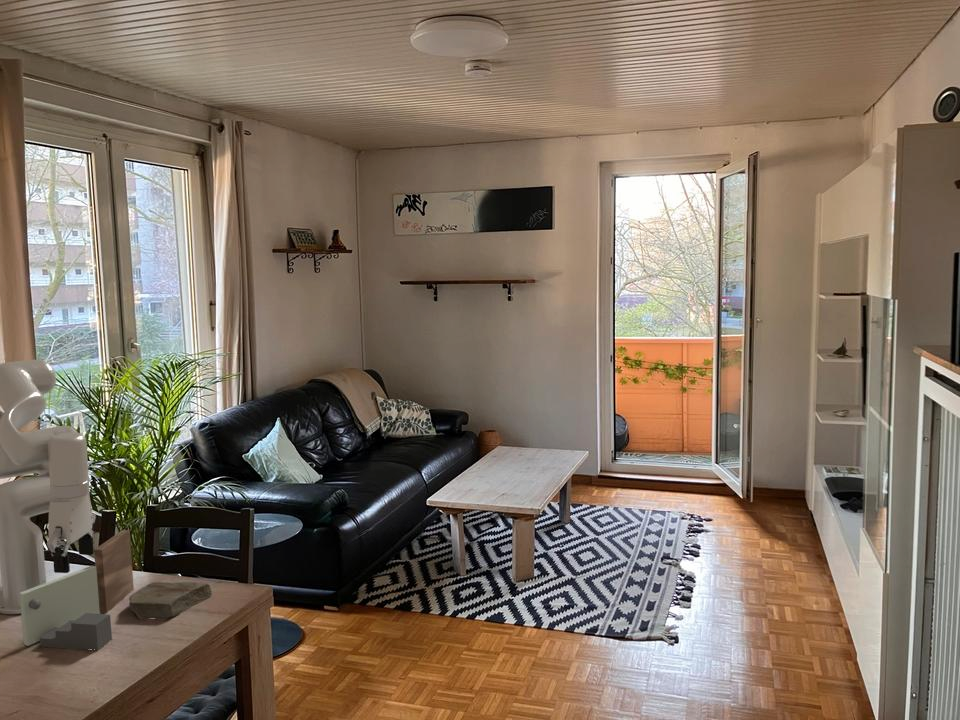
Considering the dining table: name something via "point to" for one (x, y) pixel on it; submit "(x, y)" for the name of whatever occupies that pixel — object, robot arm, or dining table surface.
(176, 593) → the marble piece
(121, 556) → the wood grain plank
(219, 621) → the dining table surface
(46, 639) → the grey stepped block
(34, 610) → the door
